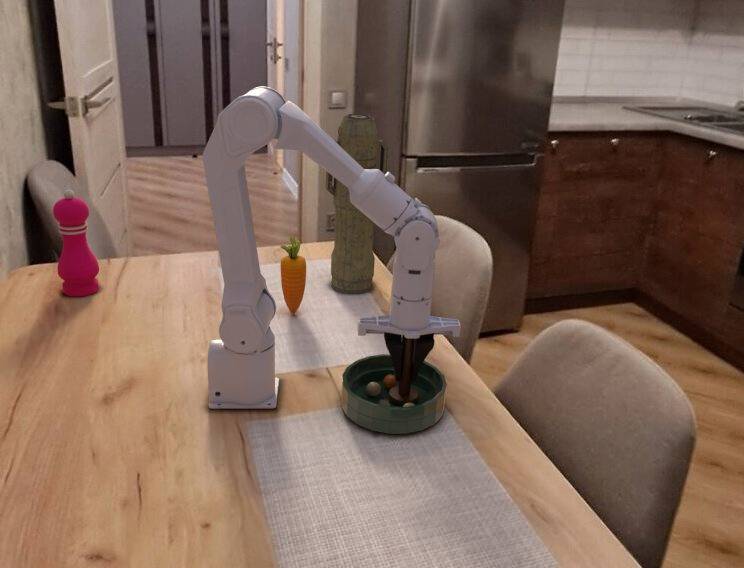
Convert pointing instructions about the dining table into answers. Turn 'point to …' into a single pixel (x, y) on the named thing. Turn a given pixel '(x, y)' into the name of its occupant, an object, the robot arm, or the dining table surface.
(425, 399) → the bowl
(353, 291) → the thermos
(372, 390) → the bead
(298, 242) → the carrot
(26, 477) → the dining table surface
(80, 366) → the dining table surface
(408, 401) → the stick
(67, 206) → the pepper mill
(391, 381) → the bead
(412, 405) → the bead
